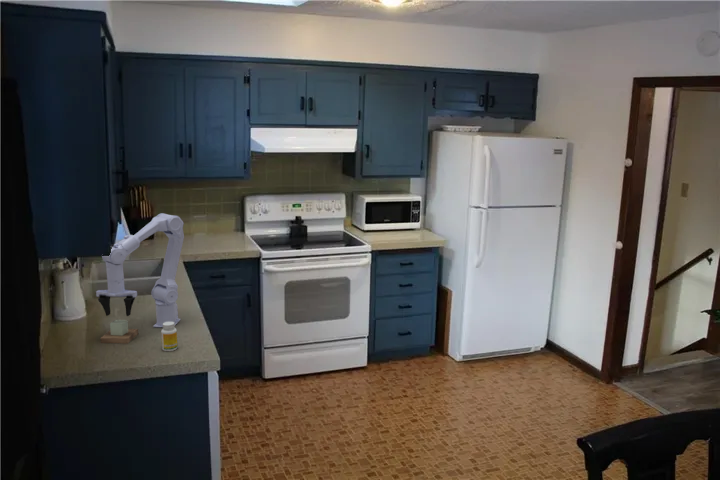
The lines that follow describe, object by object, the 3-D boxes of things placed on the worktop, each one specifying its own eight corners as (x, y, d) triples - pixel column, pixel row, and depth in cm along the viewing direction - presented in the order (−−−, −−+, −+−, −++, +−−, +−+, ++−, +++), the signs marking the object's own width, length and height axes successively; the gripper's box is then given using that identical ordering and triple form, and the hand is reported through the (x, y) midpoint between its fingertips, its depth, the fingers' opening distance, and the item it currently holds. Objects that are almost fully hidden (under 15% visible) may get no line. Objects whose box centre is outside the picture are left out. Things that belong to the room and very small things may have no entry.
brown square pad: (112, 334, 238) (112, 328, 238) (138, 335, 238) (137, 329, 237) (101, 344, 228) (100, 338, 228) (128, 345, 228) (127, 338, 227)
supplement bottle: (159, 348, 223) (157, 323, 221) (172, 344, 227) (171, 319, 225) (167, 352, 219) (165, 326, 218) (180, 348, 223) (179, 323, 221)
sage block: (117, 331, 235) (116, 319, 234) (128, 331, 234) (127, 320, 233) (110, 335, 231) (109, 323, 230) (122, 335, 230) (121, 324, 229)
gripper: (91, 282, 225) (94, 318, 227) (130, 283, 224) (133, 319, 227) (99, 277, 231) (102, 312, 234) (138, 277, 231) (140, 312, 234)
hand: (118, 315), depth 231 cm, fingers open, 7 cm apart
